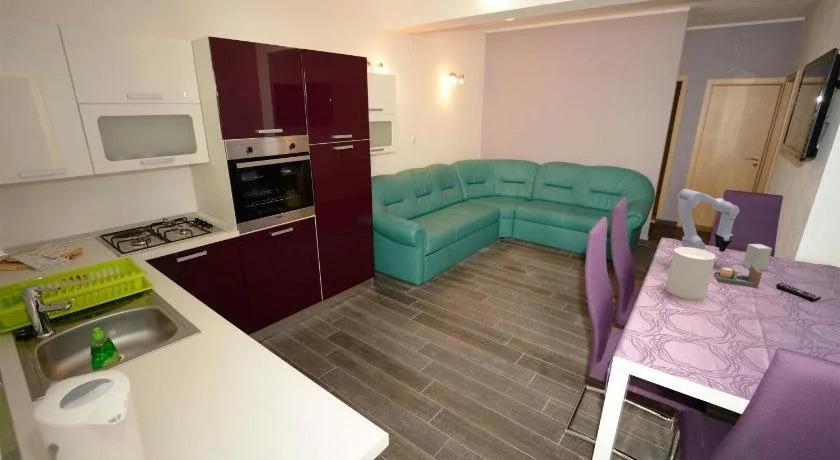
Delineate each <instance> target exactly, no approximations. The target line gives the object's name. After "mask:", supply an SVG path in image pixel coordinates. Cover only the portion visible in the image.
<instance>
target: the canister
mask: <svg viewBox="0 0 840 460" xmlns="http://www.w3.org/2000/svg"><path fill="white" fill-rule="evenodd" d="M715 261H716V255H715V253H713V252H710V251H707V250H705V249H704V250H702V249H697V248H691V247H683V246H680V247H675V248H674V249H673V253H672V259H671V263H670V266H669V270H668V271H669V272H668V276H667V281H666V284H665V285H666V287H665V289H666V291H667V292H668V293H670V294H671V295H674V296H677V297H679V298H682V299H686V300H691V301H692V300H693V301H695V300H696V301H700V300H704V299H706V298H707V292H708V289H709V285H710V280H711V278H712V277H711V276H712V272H713V269H714V268H713V267H714V264H715Z"/></svg>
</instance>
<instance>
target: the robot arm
mask: <svg viewBox="0 0 840 460" xmlns="http://www.w3.org/2000/svg"><path fill="white" fill-rule="evenodd" d="M677 200H678V203H677V208H676V209H677V213H678V216H679V220H680V223H681V227H682V230H683V234H684V235H683V236H682V242H681V245H682V247H691V248H697V249H702V250H705V249H706V244H705V242H703V239H702V238H701V237H700V236H699V235H698V232H697V228H696V226H695V221H694V218H693V215H692V210H694V209H695V208H696V207H697V206H698V205H699V204H701V203H703V202H705V203H707V204H709V205H710V206H711V208H712V209H714V210H717V211H719V212H720V213H721V214H720V215H721V216H720V218H719V224H718V227H717V232H716V233H713V235H714V239H715V244H714V245H715V248H718V252H720V253H721V252H722V253H724V252H725V251H726V249H727V248H728V246H729V245H730V244H731V243H732V242H733V241H732V240H731V239H730V237H734V234H732V231H733V230H732V229H733V226H734V222H735V219H736V217H737V216H738V214H739V213H740V207H739V206H738V205H736V204H732V202H730V201H726V200H725V198H722V197H720V198H719V197H718V198H714V197H712V196H710V195H709V194H707V193H703V192H701V191H697V190H694V189H693V190H692V189H689V188H683V189H681V190H680V191H679V193H678V194H677Z"/></svg>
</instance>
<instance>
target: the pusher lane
mask: <svg viewBox="0 0 840 460" xmlns="http://www.w3.org/2000/svg"><path fill="white" fill-rule="evenodd" d="M720 272H721V271H714V274H713V275H714V277H715V278H716V281H717V282H718V283H722V284H730V285H736V286H743V287H750V288H756V289H758V288H759V286H760V282H761V278H762V276H763V272H762V270H759V269H758V268H757V267H756V266H755V265H751V268H749V272H748V275H743V274H741V276H740V277H737V279H736V280H733V279H726V278H720Z"/></svg>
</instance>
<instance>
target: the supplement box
mask: <svg viewBox="0 0 840 460" xmlns="http://www.w3.org/2000/svg"><path fill="white" fill-rule="evenodd" d="M772 249H773V248H772V247H769V246H767V245H764V244H761V243H748V244H747V246H746V250H745V254H744V259H743V261H742V266H744V267H746V268H747V269H750V268H751V265H755V266H756V267H757V268H758V269H759V270H760V271H766V270H767V267H768V263H769V260H770V258H771V253H772Z"/></svg>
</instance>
